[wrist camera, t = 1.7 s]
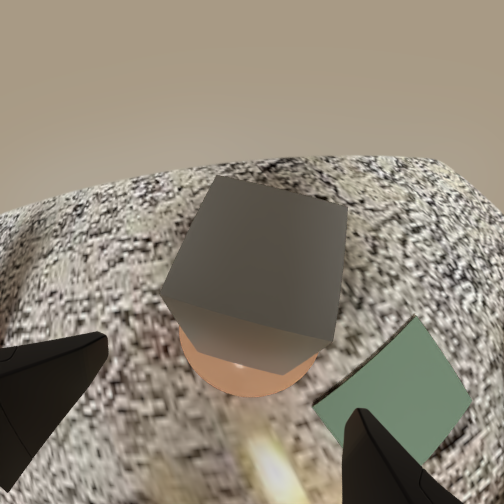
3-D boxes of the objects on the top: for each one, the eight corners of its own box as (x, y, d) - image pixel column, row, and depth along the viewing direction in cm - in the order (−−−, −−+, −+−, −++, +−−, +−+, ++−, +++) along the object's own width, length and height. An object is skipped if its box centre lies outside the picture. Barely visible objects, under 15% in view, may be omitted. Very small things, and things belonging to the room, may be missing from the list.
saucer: (227, 422, 18) (225, 428, 13) (160, 306, 22) (143, 280, 18) (342, 347, 21) (368, 330, 17) (269, 249, 26) (276, 215, 21)
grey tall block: (282, 375, 18) (333, 341, 9) (197, 351, 19) (159, 294, 10) (300, 297, 22) (347, 206, 12) (223, 277, 22) (216, 174, 13)
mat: (383, 498, 13) (385, 499, 13) (311, 406, 18) (313, 406, 18) (469, 401, 18) (472, 400, 17) (414, 317, 23) (416, 315, 22)
